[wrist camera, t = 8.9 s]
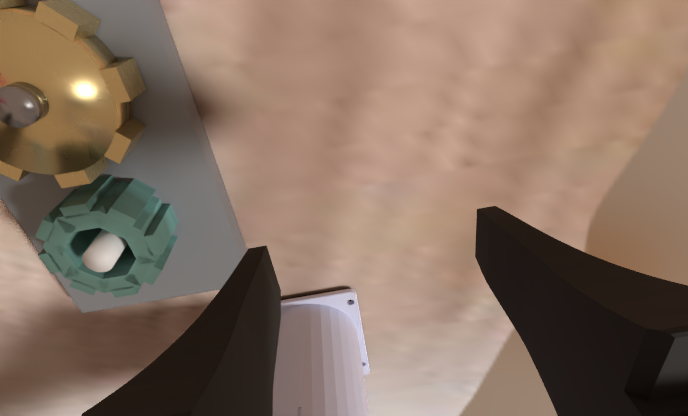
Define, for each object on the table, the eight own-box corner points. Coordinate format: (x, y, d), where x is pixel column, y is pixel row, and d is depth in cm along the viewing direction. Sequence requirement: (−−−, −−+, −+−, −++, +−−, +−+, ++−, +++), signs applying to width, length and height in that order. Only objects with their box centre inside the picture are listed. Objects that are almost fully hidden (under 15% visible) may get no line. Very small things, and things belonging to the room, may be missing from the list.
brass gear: (173, 154, 20) (154, 180, 18) (17, 181, 20) (-24, 211, 18) (98, -29, 16) (59, -29, 13) (-99, 6, 16) (-175, 12, 13)
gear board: (253, 268, 26) (244, 326, 22) (92, 296, 26) (52, 359, 22) (142, -46, 17) (89, -52, 13) (-107, -3, 17) (-244, 6, 13)
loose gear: (192, 252, 24) (178, 286, 21) (98, 268, 24) (73, 305, 21) (154, 167, 21) (133, 195, 18) (47, 185, 21) (10, 216, 18)
